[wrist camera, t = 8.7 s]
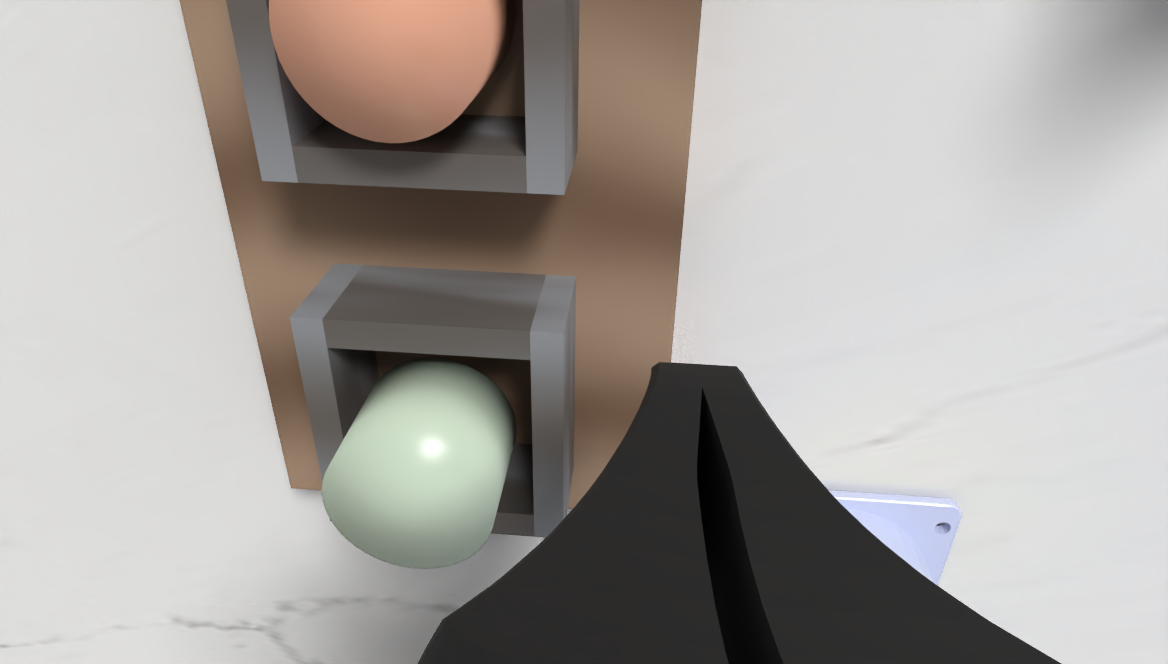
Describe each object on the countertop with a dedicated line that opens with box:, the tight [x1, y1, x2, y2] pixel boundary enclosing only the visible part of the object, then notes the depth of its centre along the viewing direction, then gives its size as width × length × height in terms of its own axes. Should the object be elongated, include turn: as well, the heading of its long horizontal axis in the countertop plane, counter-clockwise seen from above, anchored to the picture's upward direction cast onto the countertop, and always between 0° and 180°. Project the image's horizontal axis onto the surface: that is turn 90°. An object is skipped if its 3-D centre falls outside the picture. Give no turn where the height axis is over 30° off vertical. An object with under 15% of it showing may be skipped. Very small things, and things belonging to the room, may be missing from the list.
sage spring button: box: [322, 358, 517, 569], centre depth 19 cm, size 4×4×3 cm
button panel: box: [180, 0, 702, 537], centre depth 20 cm, size 20×12×5 cm, turn 179°
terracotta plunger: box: [269, 0, 515, 143], centre depth 16 cm, size 4×4×3 cm
